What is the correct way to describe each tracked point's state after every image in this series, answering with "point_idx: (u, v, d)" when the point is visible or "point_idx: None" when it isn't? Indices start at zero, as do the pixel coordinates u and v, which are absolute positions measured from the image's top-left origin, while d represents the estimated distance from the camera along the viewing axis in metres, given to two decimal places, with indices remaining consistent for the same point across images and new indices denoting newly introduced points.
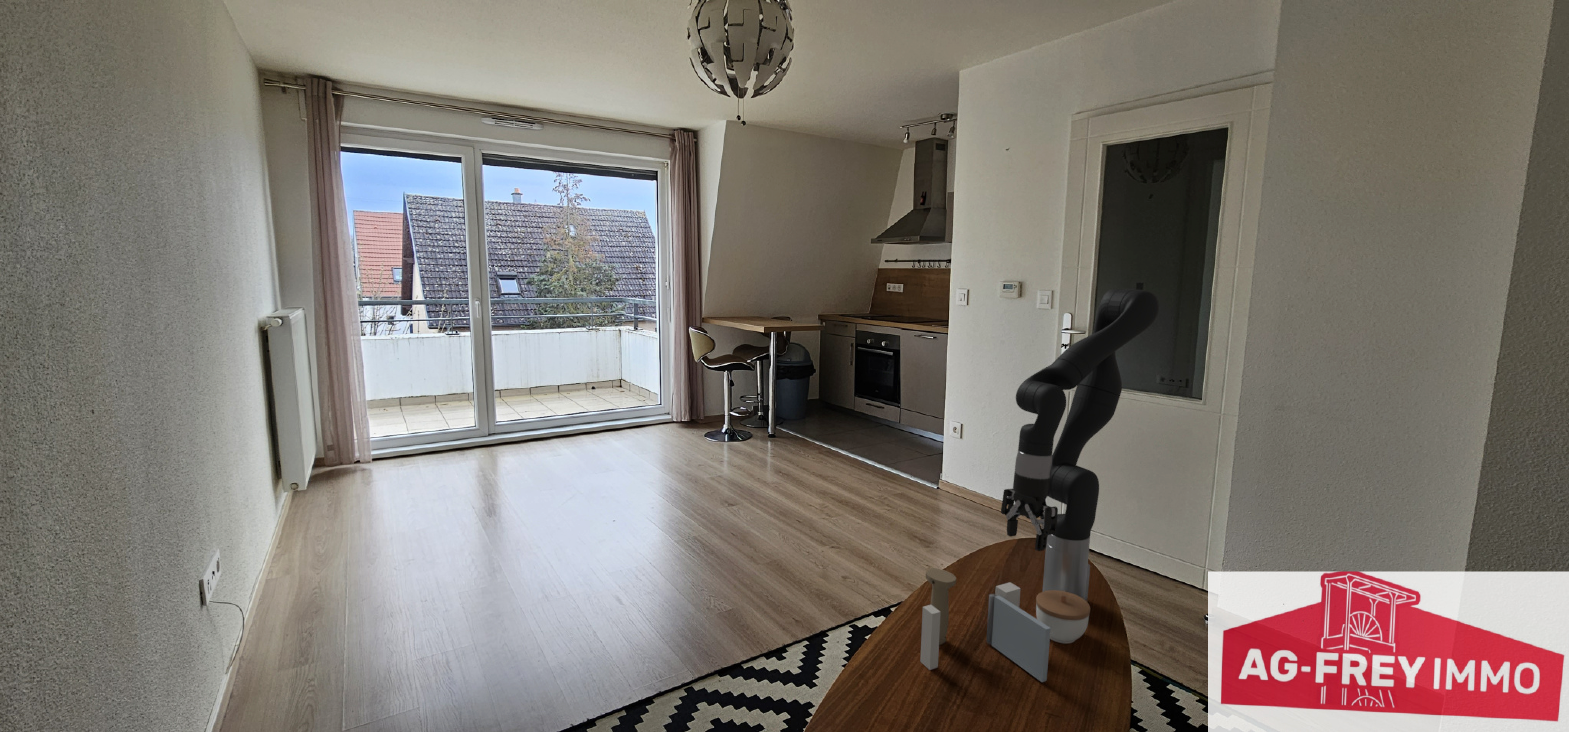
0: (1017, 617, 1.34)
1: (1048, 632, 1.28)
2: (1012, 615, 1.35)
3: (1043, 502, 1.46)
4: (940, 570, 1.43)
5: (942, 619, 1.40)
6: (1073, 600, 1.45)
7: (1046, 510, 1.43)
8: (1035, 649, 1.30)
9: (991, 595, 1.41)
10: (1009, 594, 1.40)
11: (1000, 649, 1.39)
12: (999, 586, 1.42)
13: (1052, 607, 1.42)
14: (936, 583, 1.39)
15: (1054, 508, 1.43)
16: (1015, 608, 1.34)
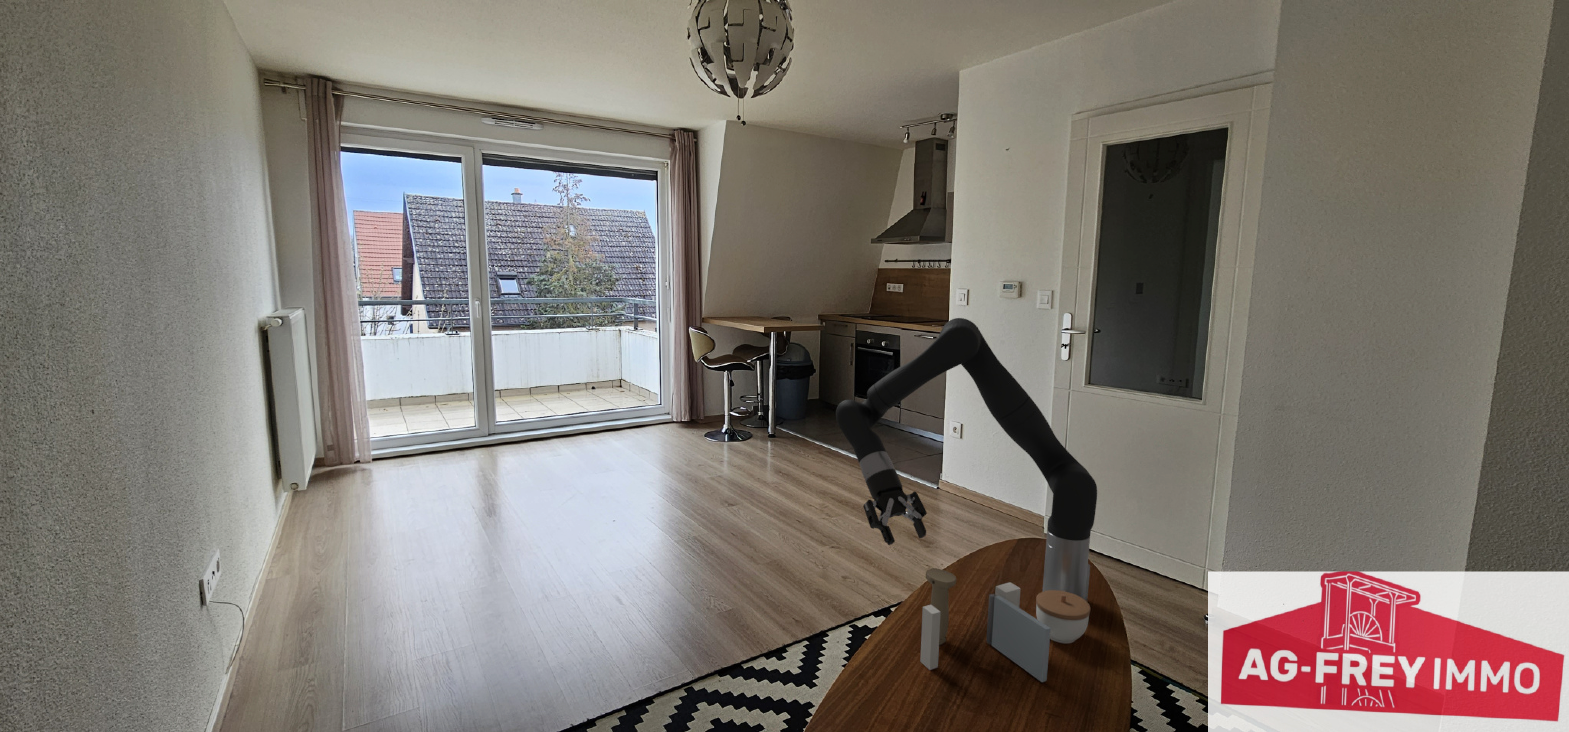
0: (1017, 617, 1.34)
1: (1048, 632, 1.28)
2: (1012, 615, 1.35)
3: (876, 499, 1.54)
4: (940, 570, 1.43)
5: (942, 619, 1.40)
6: (1073, 600, 1.44)
7: None
8: (1035, 649, 1.30)
9: (991, 595, 1.41)
10: (1009, 594, 1.40)
11: (1000, 649, 1.39)
12: (999, 586, 1.42)
13: (1052, 607, 1.42)
14: (936, 583, 1.39)
15: (867, 502, 1.52)
16: (1015, 608, 1.34)
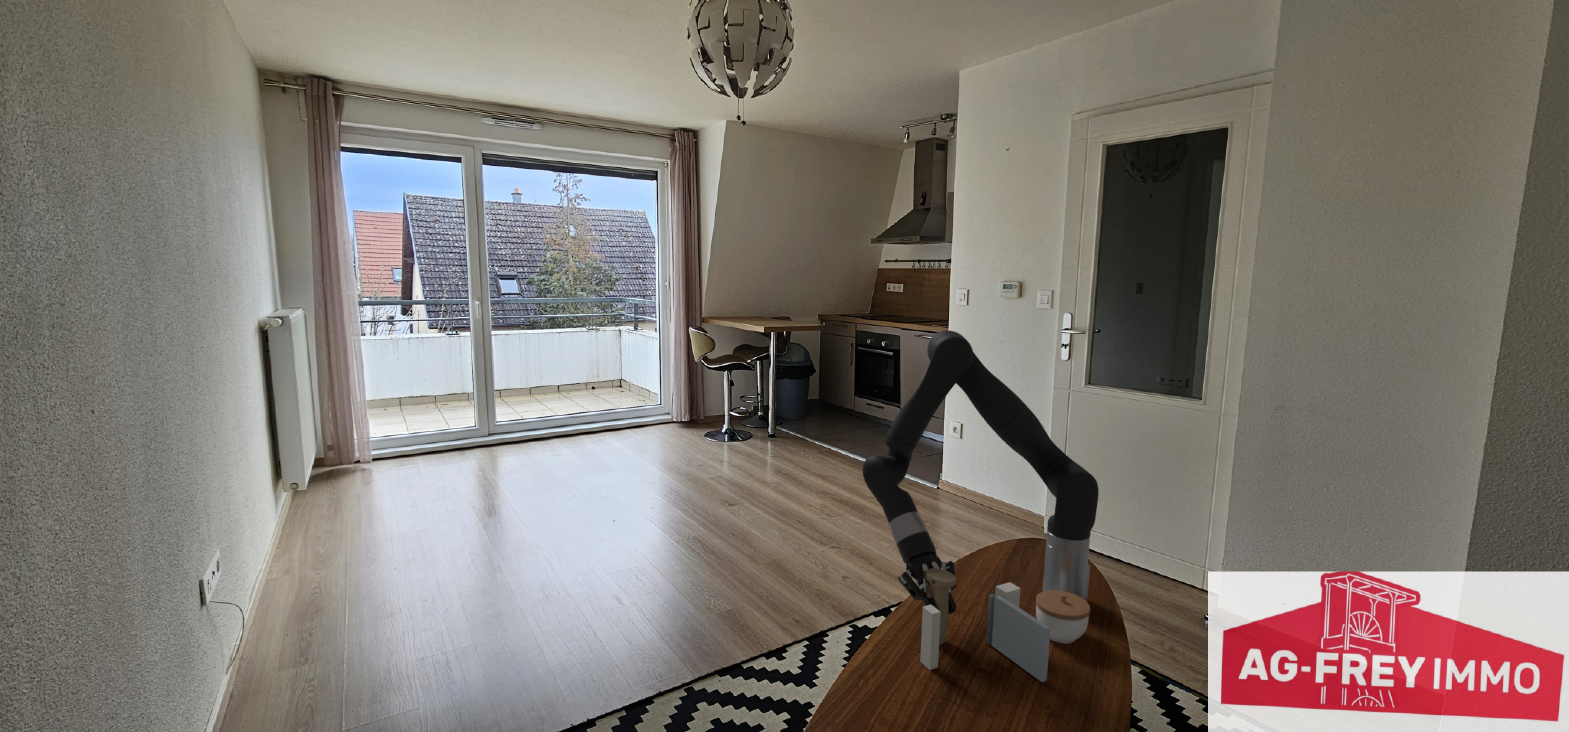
0: (1017, 617, 1.34)
1: (1048, 632, 1.28)
2: (1012, 615, 1.35)
3: (908, 564, 1.45)
4: (940, 570, 1.43)
5: (942, 619, 1.40)
6: (1073, 600, 1.44)
7: None
8: (1035, 649, 1.30)
9: (991, 595, 1.41)
10: (1009, 594, 1.40)
11: (1000, 649, 1.39)
12: (999, 586, 1.42)
13: (1052, 607, 1.42)
14: (936, 583, 1.39)
15: (902, 575, 1.42)
16: (1015, 608, 1.34)
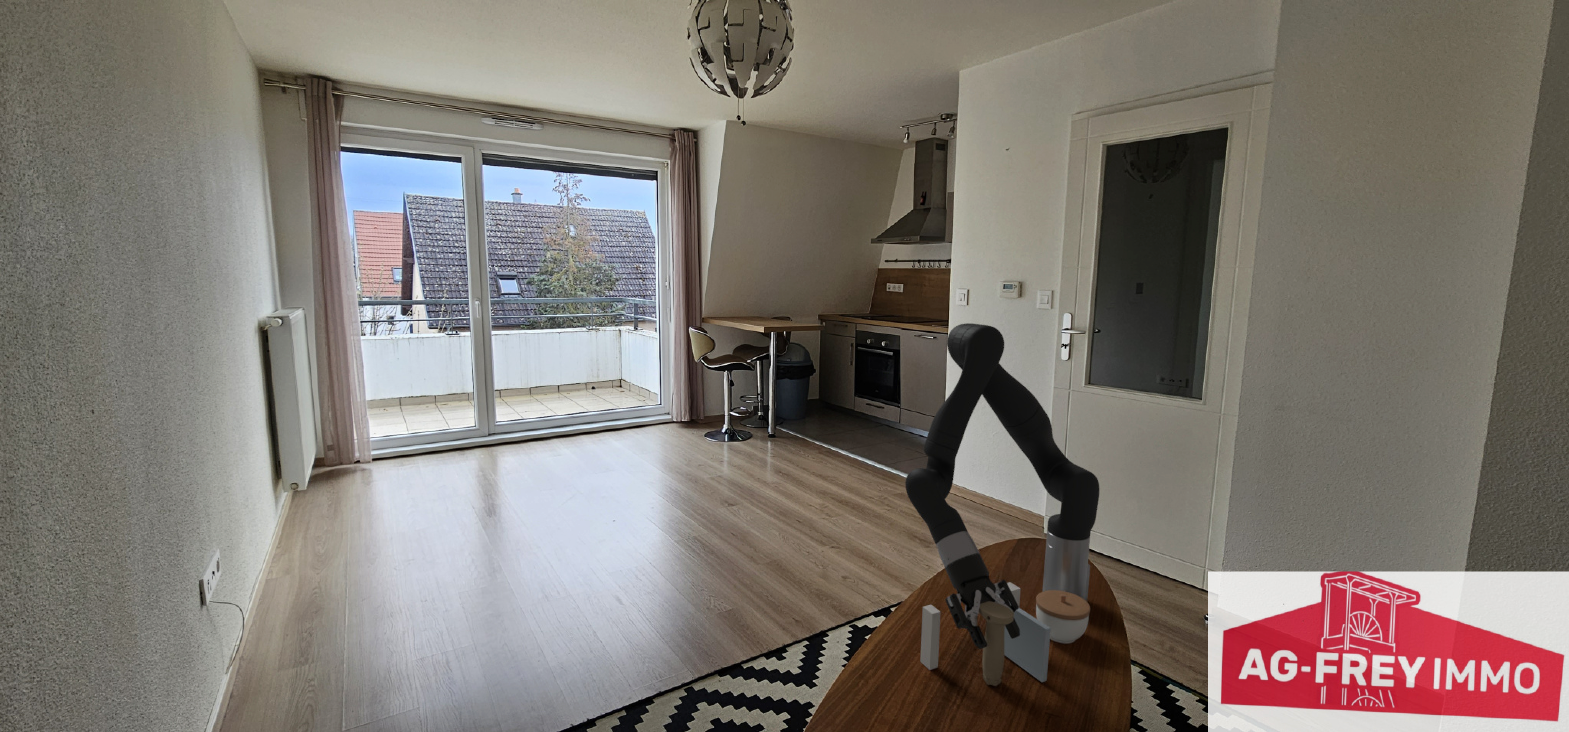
0: (1017, 617, 1.34)
1: (1048, 632, 1.28)
2: None
3: (960, 590, 1.31)
4: (995, 604, 1.29)
5: (998, 658, 1.27)
6: (1073, 600, 1.44)
7: None
8: (1035, 649, 1.30)
9: None
10: None
11: None
12: None
13: (1052, 607, 1.42)
14: (992, 619, 1.25)
15: (950, 596, 1.29)
16: None
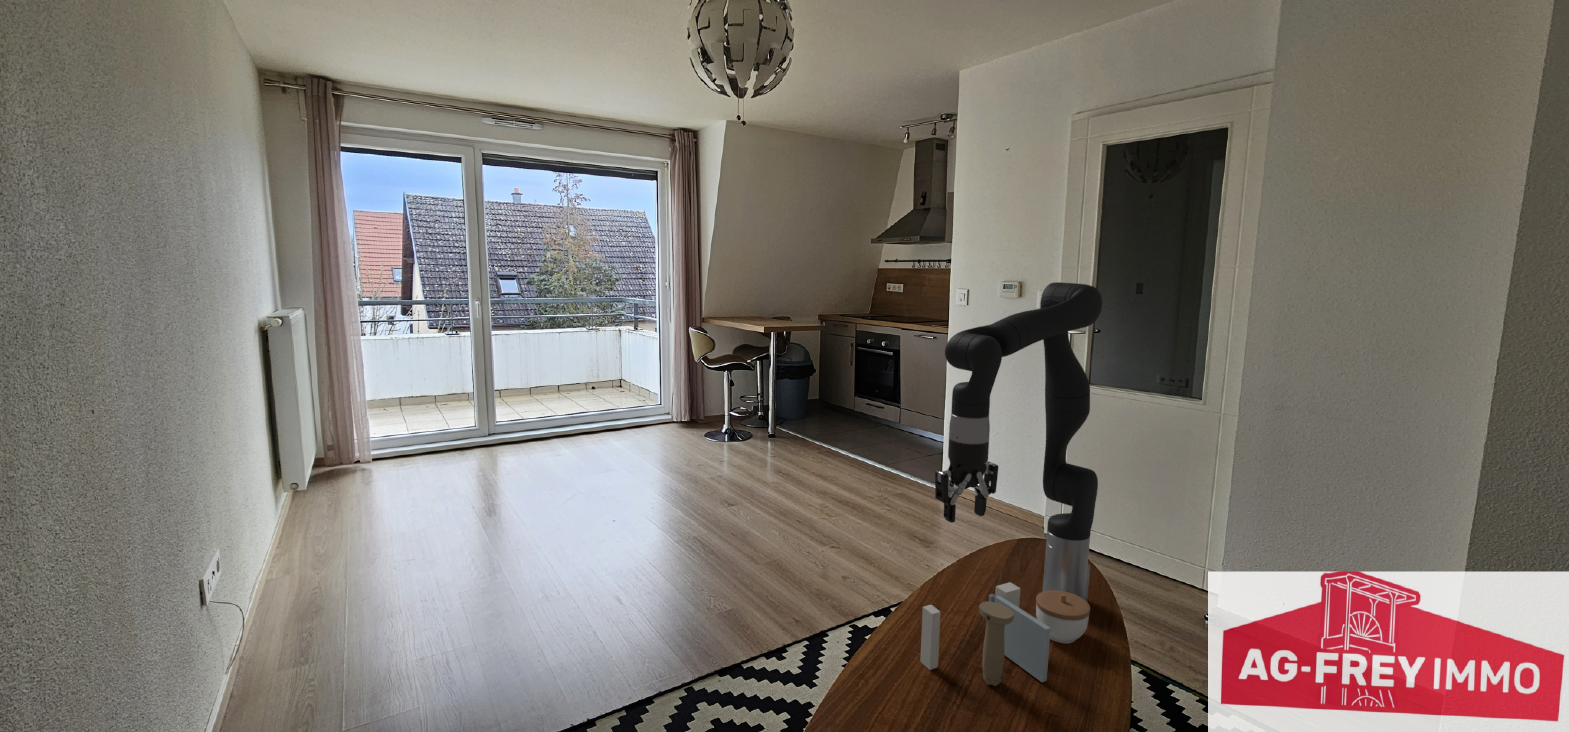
0: (1017, 617, 1.34)
1: (1048, 632, 1.28)
2: None
3: (952, 467, 1.30)
4: (995, 604, 1.29)
5: (998, 658, 1.27)
6: (1073, 600, 1.45)
7: None
8: (1035, 649, 1.30)
9: (991, 595, 1.41)
10: (1009, 594, 1.40)
11: None
12: (999, 586, 1.42)
13: (1052, 607, 1.42)
14: (992, 619, 1.25)
15: (941, 474, 1.28)
16: (1015, 608, 1.34)
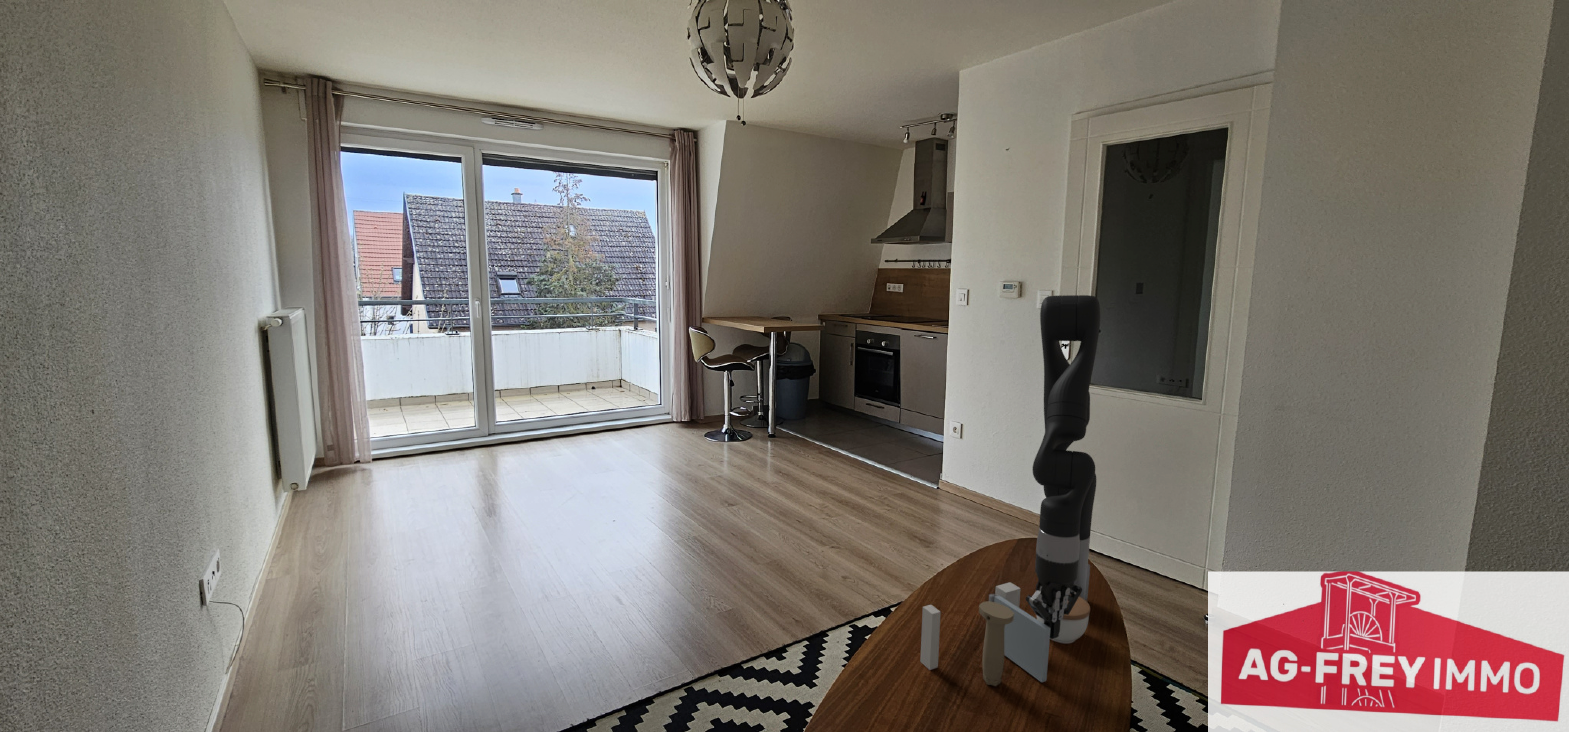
0: (1017, 617, 1.34)
1: (1048, 632, 1.28)
2: None
3: (1041, 584, 1.27)
4: (995, 604, 1.29)
5: (998, 658, 1.27)
6: None
7: None
8: (1035, 649, 1.30)
9: (991, 595, 1.41)
10: (1009, 594, 1.40)
11: None
12: (999, 586, 1.42)
13: None
14: (992, 619, 1.25)
15: (1033, 602, 1.26)
16: (1015, 608, 1.34)
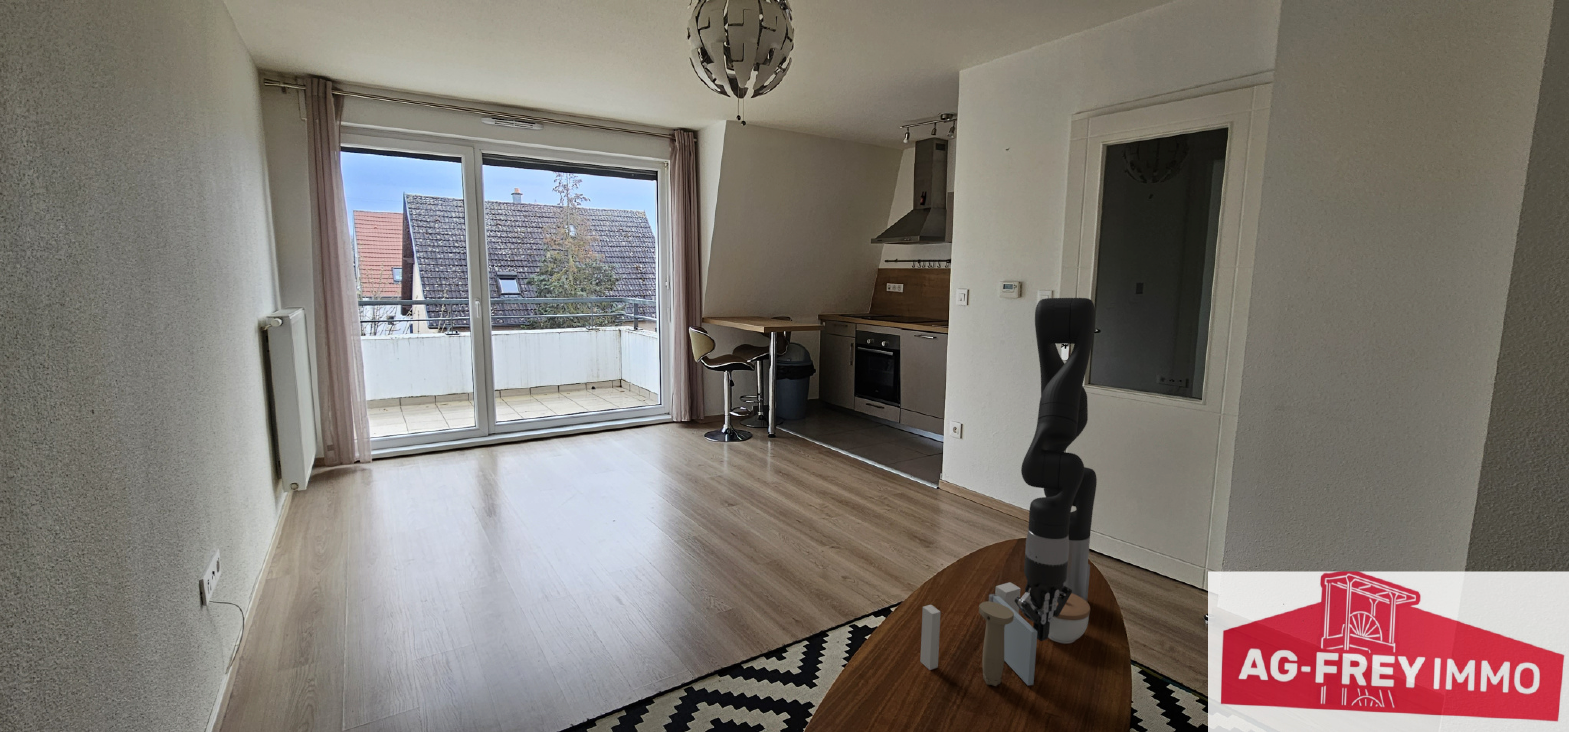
0: None
1: (1034, 635, 1.26)
2: None
3: (1030, 586, 1.26)
4: (995, 604, 1.29)
5: (998, 658, 1.27)
6: (1073, 600, 1.44)
7: None
8: (1023, 651, 1.29)
9: (991, 595, 1.41)
10: (1009, 594, 1.40)
11: None
12: (999, 586, 1.42)
13: None
14: (992, 619, 1.25)
15: (1022, 604, 1.25)
16: None
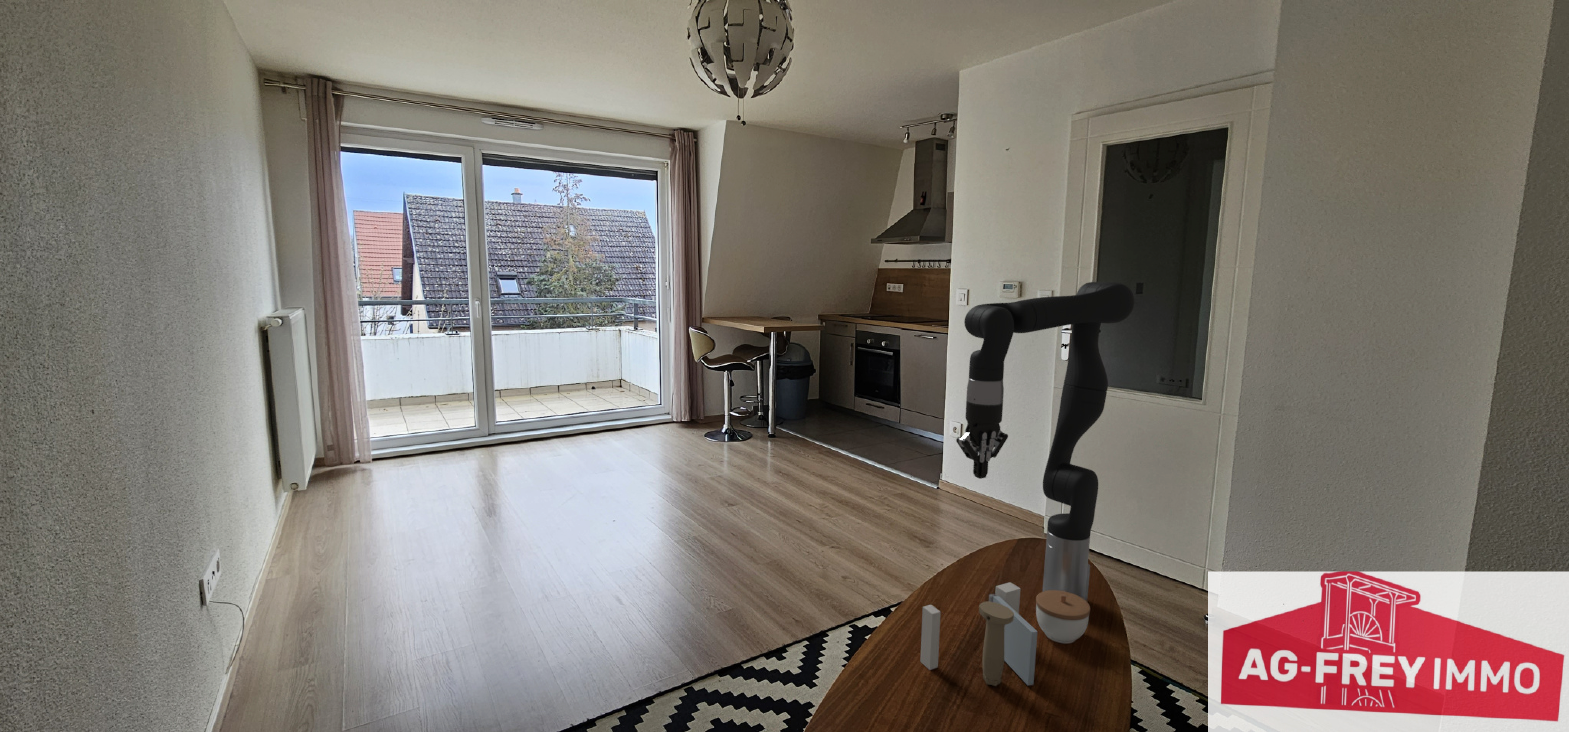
0: None
1: (1034, 635, 1.26)
2: None
3: (970, 427, 1.43)
4: (995, 604, 1.29)
5: (998, 658, 1.27)
6: (1073, 600, 1.44)
7: None
8: (1023, 651, 1.29)
9: (991, 595, 1.41)
10: (1009, 594, 1.40)
11: None
12: (999, 586, 1.42)
13: (1052, 607, 1.42)
14: (992, 619, 1.25)
15: (962, 442, 1.42)
16: None
